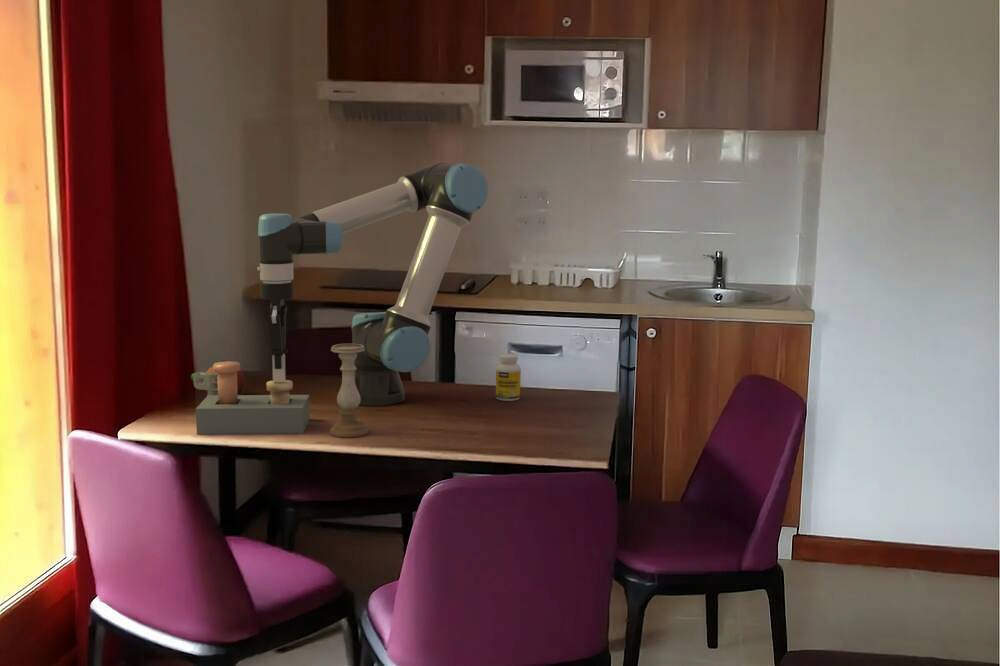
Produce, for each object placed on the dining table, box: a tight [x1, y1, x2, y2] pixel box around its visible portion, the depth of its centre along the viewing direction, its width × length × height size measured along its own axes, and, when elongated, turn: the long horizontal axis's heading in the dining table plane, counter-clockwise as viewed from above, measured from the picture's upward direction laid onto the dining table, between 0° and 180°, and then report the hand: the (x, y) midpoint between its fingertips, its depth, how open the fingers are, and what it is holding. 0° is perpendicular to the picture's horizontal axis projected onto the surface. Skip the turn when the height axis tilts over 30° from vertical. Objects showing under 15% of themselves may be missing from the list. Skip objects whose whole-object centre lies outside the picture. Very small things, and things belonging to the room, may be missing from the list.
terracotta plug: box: [212, 360, 241, 404], centre depth 237 cm, size 6×6×10 cm
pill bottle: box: [495, 353, 522, 402], centre depth 269 cm, size 6×6×12 cm
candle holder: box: [329, 343, 369, 438], centre depth 233 cm, size 9×9×20 cm
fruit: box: [206, 359, 246, 395], centre depth 266 cm, size 11×10×10 cm
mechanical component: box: [190, 371, 218, 397], centre depth 250 cm, size 3×10×10 cm, turn 78°
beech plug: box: [266, 379, 294, 404], centre depth 239 cm, size 6×6×10 cm
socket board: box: [195, 394, 311, 435], centre depth 239 cm, size 24×13×6 cm, turn 94°
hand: (279, 381), depth 238 cm, fingers closed
